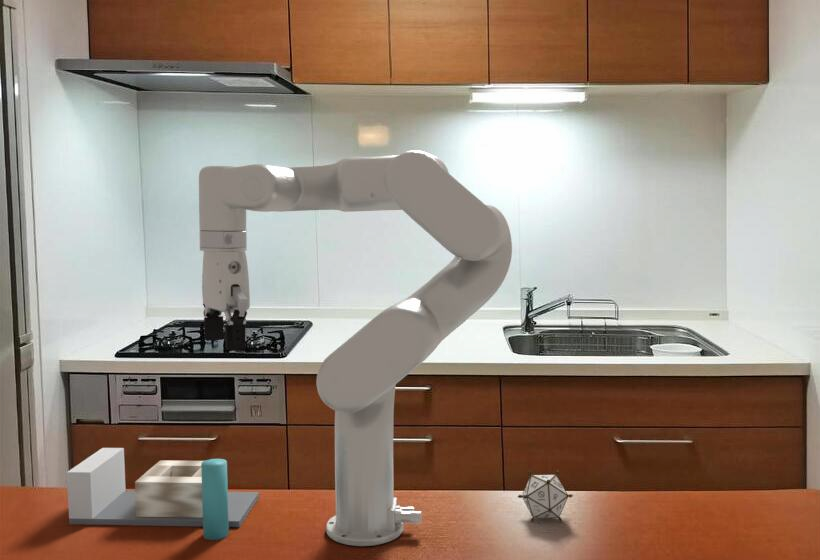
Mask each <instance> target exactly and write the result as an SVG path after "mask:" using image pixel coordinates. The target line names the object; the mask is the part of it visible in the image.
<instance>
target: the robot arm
mask: <svg viewBox="0 0 820 560" xmlns="http://www.w3.org/2000/svg"><path fill="white" fill-rule="evenodd" d="M329 210H330V211H341V212H344V213H345V212H347V213H348V212H349V213H350V212H351V213H352V212H371V211H372V212H376V211H379V212H380V211H403V212H404V213H405V214H406V215H407V216H409V218H410V219H412V220H413V221H414V222H415V223H416V224H417V225H418V226H419V227H421V228H422V230H424V231H425V232H427V233H428V235H430V236H431V237H432V238H433V239H434V240H435V241H436V242H437V243H438V244H440V245H441V246H442V247H443V248H445V249H446V251H448V252H449V253H450V254H452V255H454V257H453V259H452V260H451V261H450V262H449V263H448V264H447V265H446V266H445V267H444V268H442V269H441V270H440V271H438V272H437V273H436V274H435V275H434V276H433V277H432V278H430V279H429V280H428V281H427V282H426V283H425V284H423V285H422V286H421V287H419V288H418V289H417V290H416V291H414V292H413V293H412V294H411V295H409V296H408V297H406V298H405V299H403V300H400V301H399V302H396V303H394V304H393V305H390V306H389V307H386V308H385V309H383V310H382V311H381V312H380V313H378V314H377V315H376V316H375V317H373V318H372V319H371V320H370V321H368V322H367V323H366V324H365V325H363V326H362V328H360V329H359V330H358V331H357V332H355V333H354V334H353V335H352V336H350V337H349V338H348V339H346V340H345V342H344V343H341V345H340V346H338V347H337V348H336V349H335V350H333V351H332V352H331V353H330V354H328V356H327V357H326V358H324V360H323V361H322V363H320V366H319V367H318V370H317V374H316V388H317V390H316V391H317V394H318V396H319V397H320V399H321V400H322V402H323V403H324V404H325V405H326V406H327V407H329V408H330V409H331V410H333V411H334V479H335V480H334V484H335V485H334V488H335V490H334V493H335V498H334V499H335V515H333V516H332V517H330V518H329V519H328V520H327V522H326V524H325V525H326V526H325V527H326V530H325V531H326V534H327V536H328V537H329V538H330V539H331V540H333V541H334V542H337V543H338V544H339V543H340V544H343V545H346V546H352V547H353V546H354V547H370V546H379V545H382V544H383V545H384V544H387V543H389V542H391V541H394V540H396V539H397V538H399V537H400V535H401V534H403V531H404V524H412V525H413V524H416V525H417V524H421V523H422V511H420V510H419V511H417V510H415V507H414V506H401V505H400V504H398V503H397V502H398V501H397V499H398V497H395V496H394V494H395V493H394V492H395V491H394V484H395V483H394V417H395V416H394V415H395V413H394V412H395V411H394V410H395V395H396V385H397V384H398V383H399V382H400V381H402V380H403V379H404V378H405V377H406V376H408V375H409V374H410V373H411V372H414V370H415V369H416V368H418V367H419V366H420V365H421V364H422V363H423V362H424V361H426V360H427V359H428V358H429V356H430V355H431V354H432V353H434V351H435V350H436V349H437V348H438V347H439V345H440V344H441V343H442V342H443V340H445V339H446V338H447V337H448V336H450V335H451V333H453V332H454V331H455V330H456V329H458V328H459V327H460V326H461V325H463V324H464V323H465V322H466V321H467V320H468V319H469V318H471V316H473V315H474V314H476V312H477V311H479V310H480V309H481V308H482V307H484V306H485V304H487V303H488V302H489V300H491V299H492V297H494V295H495V294H496V293H497V292H498V290H499V289H500V287H501V286H502V284H503V283H504V281H505V279H506V276H507V275H508V272H509V268H510V267H511V266H510V265H511V261H512V255H513V254H512V253H513V243H512V236H511V231H510V230H511V229H510V227H509V223H508V221H507V219H506V217H505V215H504V214H503V213H502V211H501V210H499V209H498V208H497V207H496V206H494V205H491V204H489V203H485V202H483V201H482V200H481V199H479V198H478V196H476V195H475V194H474V193H472V192H471V191H470V190H468V188H466V186H464V185H463V184H462V183H461V182H459V181H458V180H457V179H456V178H455V177H454V176H452V175H451V174H450V173H449V170H448V167H447V166H446V164H445V162H443V160H441V159H440V158H439V157H437V156H436V155H433V154H430V153H428V152H425V151H422V150H407V151H403V152H402V153H400V154H395V155H383V156H382V155H380V156H379V155H378V156H352V157H351V156H350V157H345V158H342V159H340V160H338V161H337V162H335V163H331V164H325V165H316V166H315V165H314V166H313V165H312V166H291V167H287V166H286V167H285V166H278V165H270V164H263V163H255V164H247V165H241V166H233V165H232V166H231V165H229V166H228V165H208V166H207V165H206V166H204V167H202V168H201V169H200V170H199V173H198V215H199V216H198V217H199V222H198V223H199V225H198V226H199V252H200V251H201V252H203V253H202V254H203V258H202V274H201V275H202V276H201V278H202V279H201V290H202V291H201V293H202V306H203V308H204V309H203V329H204V332H203V334H204V335H203V339H204V341H207V342H208V341H220V340H223V339H224V341H225V342H224V343H225V349H226V350H228V351H232V350H233V351H234V350H238V349H239V350H241V349H245V348H246V347H247V346H246V344H247V343H246V342H247V341H246V324H247V318H246V317H247V315H248V310H249V308H251V307H250V306H251V298H250V279H249V268H248V261H247V253H246V251H248V250H247V245H248V243H247V211H252V212H261V213H262V212H264V213H265V212H269V213H270V212H277V213H278V212H279V213H280V212H281V213H282V212H302V211H303V212H304V211H305V212H306V211H329ZM222 313H224V316H223V315H222ZM224 317H225V319H226V323H227V324H225V326H224ZM224 327H225V328H224ZM224 329H225V330H224ZM224 331H225V332H224ZM224 333H225V338H224Z"/></svg>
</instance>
